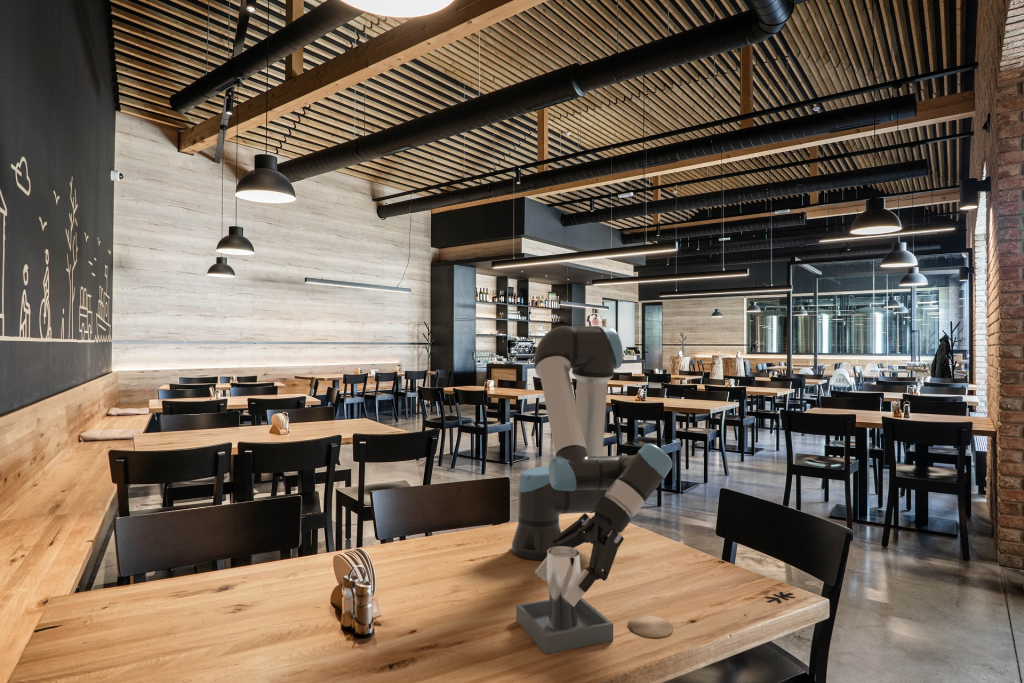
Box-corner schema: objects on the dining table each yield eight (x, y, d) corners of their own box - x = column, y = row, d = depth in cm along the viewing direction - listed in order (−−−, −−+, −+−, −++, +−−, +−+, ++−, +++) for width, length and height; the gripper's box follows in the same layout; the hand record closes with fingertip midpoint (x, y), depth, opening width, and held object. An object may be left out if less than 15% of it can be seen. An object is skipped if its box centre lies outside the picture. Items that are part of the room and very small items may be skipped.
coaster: (619, 621, 120) (619, 619, 120) (655, 614, 124) (655, 612, 124) (644, 641, 112) (644, 639, 112) (682, 633, 115) (682, 631, 115)
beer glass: (578, 636, 112) (579, 558, 112) (543, 632, 114) (544, 556, 114) (581, 619, 119) (581, 547, 119) (548, 616, 120) (548, 544, 121)
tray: (516, 620, 120) (516, 604, 120) (578, 609, 126) (578, 594, 126) (545, 654, 107) (545, 636, 107) (613, 640, 112) (613, 623, 112)
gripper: (663, 535, 111) (595, 626, 105) (598, 504, 134) (539, 577, 128) (640, 510, 109) (569, 601, 103) (578, 483, 132) (517, 556, 126)
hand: (552, 588), depth 116 cm, fingers open, 13 cm apart
